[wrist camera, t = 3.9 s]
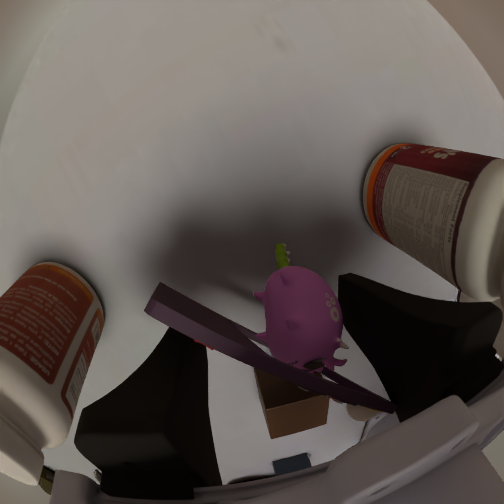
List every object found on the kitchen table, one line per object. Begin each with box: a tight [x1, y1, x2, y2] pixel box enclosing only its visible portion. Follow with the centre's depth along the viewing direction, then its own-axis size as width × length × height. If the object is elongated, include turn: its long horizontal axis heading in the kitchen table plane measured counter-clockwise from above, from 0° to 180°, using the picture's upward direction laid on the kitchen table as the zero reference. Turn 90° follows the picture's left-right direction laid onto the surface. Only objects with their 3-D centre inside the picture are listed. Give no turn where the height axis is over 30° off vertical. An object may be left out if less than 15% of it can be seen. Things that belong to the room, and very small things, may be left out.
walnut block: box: [254, 367, 330, 439], centre depth 17 cm, size 4×4×4 cm
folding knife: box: [94, 471, 101, 483], centre depth 24 cm, size 13×1×2 cm
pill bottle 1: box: [0, 262, 104, 485], centre depth 9 cm, size 6×6×11 cm
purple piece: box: [144, 243, 398, 421], centre depth 10 cm, size 7×5×9 cm
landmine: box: [38, 468, 55, 495], centre depth 23 cm, size 14×3×15 cm
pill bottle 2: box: [363, 143, 504, 309], centre depth 10 cm, size 6×6×11 cm
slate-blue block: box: [273, 453, 312, 476], centre depth 24 cm, size 4×4×4 cm
